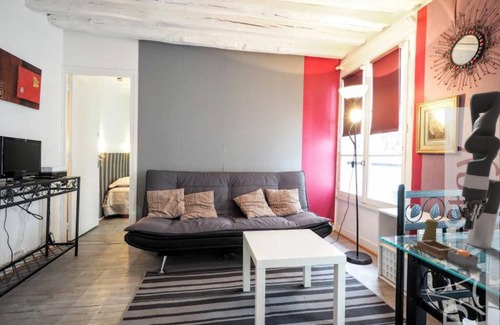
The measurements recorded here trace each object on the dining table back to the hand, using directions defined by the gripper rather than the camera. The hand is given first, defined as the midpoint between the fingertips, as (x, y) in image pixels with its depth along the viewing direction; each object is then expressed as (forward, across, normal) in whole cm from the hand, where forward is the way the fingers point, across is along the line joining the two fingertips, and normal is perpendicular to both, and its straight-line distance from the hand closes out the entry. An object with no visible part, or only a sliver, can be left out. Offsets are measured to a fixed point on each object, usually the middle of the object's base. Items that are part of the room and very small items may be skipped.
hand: (468, 228), depth 105 cm
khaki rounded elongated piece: (+15, -10, -21) cm, 28 cm away
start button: (+13, 0, 0) cm, 13 cm away
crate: (+14, 0, -11) cm, 18 cm away
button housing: (+14, 0, 0) cm, 15 cm away
